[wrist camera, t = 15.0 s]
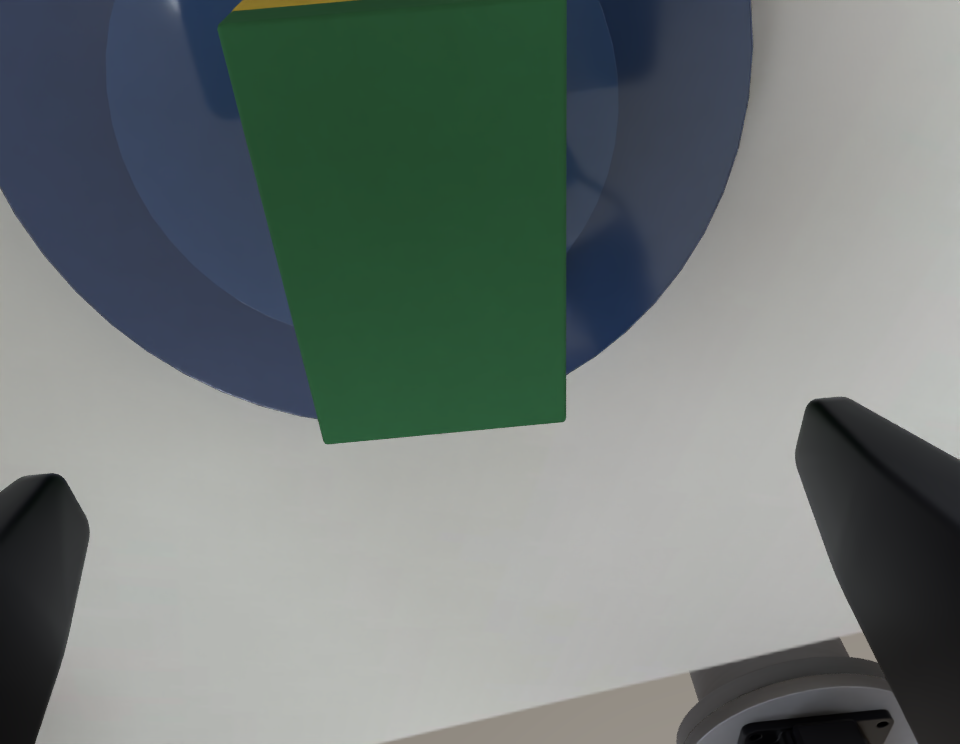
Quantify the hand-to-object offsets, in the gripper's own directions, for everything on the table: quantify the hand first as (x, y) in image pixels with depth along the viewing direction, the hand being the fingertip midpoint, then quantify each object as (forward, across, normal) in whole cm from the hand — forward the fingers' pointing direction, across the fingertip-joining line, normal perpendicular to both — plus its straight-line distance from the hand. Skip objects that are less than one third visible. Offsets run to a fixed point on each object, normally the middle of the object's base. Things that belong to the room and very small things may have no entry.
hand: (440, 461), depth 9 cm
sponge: (+9, 0, 0) cm, 9 cm away
